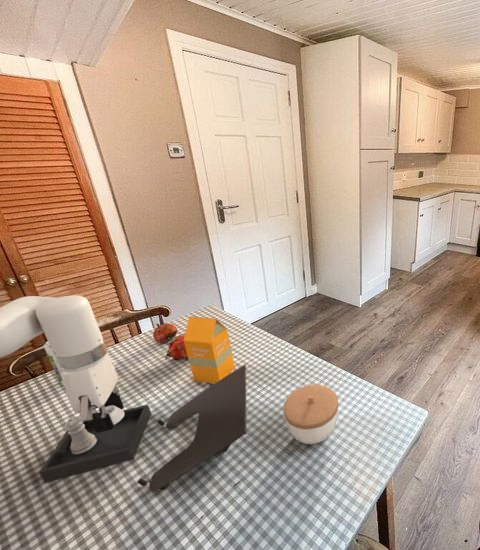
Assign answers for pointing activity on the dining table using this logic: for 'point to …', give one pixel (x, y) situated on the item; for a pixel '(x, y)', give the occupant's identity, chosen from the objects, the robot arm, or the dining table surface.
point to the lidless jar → (114, 413)
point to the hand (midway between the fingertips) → (110, 419)
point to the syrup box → (54, 362)
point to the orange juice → (208, 349)
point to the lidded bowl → (311, 413)
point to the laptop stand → (206, 427)
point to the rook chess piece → (79, 436)
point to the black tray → (99, 447)
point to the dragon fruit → (177, 349)
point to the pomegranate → (164, 332)
